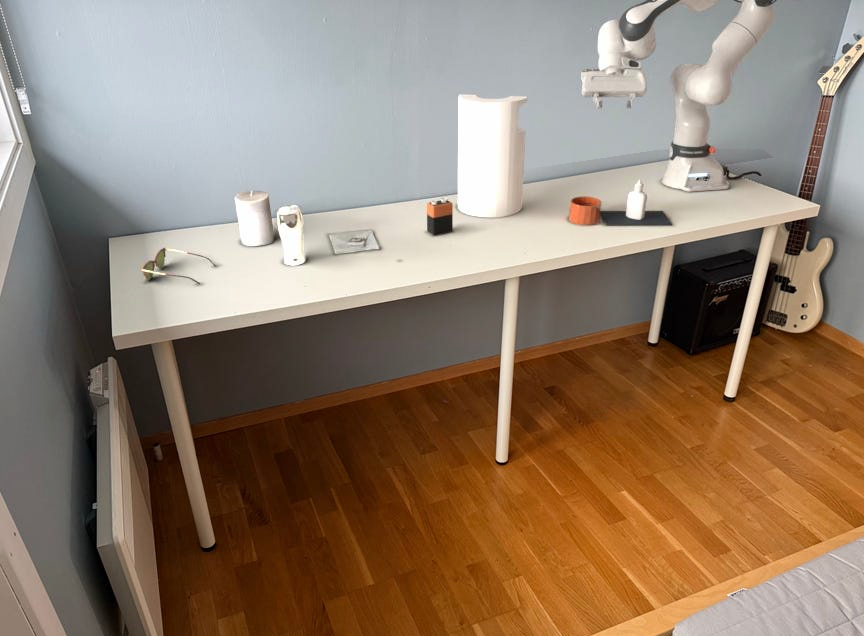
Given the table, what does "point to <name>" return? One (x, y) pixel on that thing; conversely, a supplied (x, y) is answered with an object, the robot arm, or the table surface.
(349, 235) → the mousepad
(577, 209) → the cup
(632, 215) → the eye dropper bottle
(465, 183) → the white curved half cylinder
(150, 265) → the sunglasses
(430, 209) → the battery
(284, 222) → the white handheld device
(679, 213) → the table surface
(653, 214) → the mat
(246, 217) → the pillar candle
